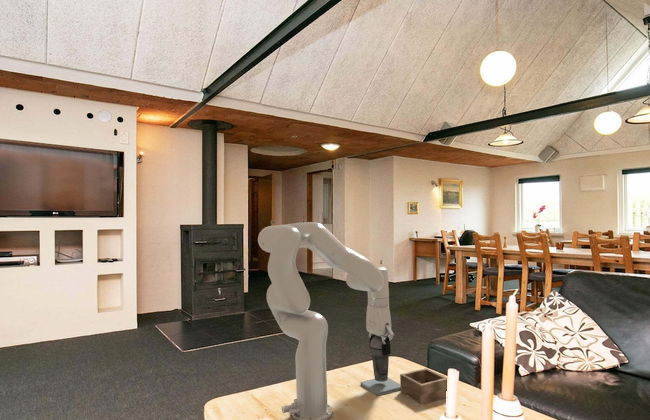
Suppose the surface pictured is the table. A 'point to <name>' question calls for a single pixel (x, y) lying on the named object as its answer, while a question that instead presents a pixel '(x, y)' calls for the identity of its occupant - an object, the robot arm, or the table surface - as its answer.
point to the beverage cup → (379, 359)
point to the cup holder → (423, 385)
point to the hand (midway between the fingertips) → (380, 351)
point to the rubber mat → (381, 386)
